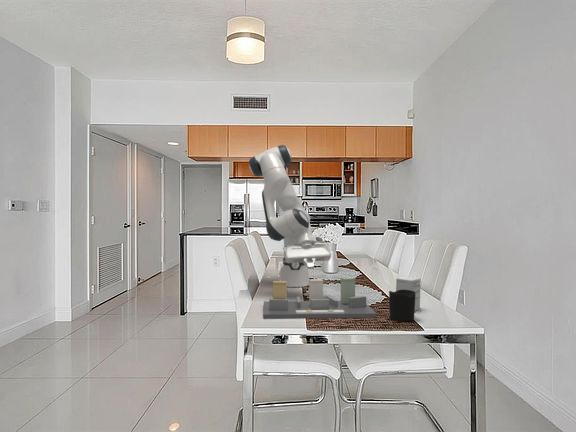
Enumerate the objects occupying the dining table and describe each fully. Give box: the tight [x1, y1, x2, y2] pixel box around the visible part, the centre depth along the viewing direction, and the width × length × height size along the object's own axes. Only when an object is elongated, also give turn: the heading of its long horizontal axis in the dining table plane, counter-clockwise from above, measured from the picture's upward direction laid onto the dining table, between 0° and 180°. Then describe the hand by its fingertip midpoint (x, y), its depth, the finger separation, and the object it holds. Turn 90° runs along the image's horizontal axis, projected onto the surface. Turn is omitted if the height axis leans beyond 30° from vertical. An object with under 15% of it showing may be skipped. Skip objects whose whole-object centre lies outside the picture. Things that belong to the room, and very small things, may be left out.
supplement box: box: [395, 275, 422, 312], centre depth 175 cm, size 7×7×13 cm
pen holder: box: [388, 290, 416, 322], centre depth 160 cm, size 9×9×10 cm
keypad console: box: [263, 295, 378, 320], centre depth 171 cm, size 21×42×6 cm, turn 93°
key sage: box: [340, 276, 357, 304], centre depth 178 cm, size 3×5×10 cm, turn 115°
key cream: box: [308, 278, 324, 305], centre depth 174 cm, size 3×5×10 cm, turn 99°
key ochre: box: [272, 280, 288, 299], centre depth 170 cm, size 3×5×10 cm, turn 83°
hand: (310, 268), depth 186 cm, fingers closed
